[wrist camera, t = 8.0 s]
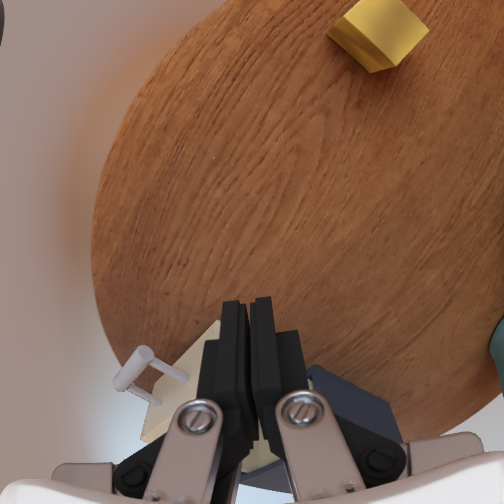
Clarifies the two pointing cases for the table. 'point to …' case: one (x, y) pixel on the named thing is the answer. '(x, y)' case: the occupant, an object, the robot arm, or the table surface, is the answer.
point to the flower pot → (498, 352)
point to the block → (378, 33)
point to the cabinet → (342, 404)
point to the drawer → (179, 393)
